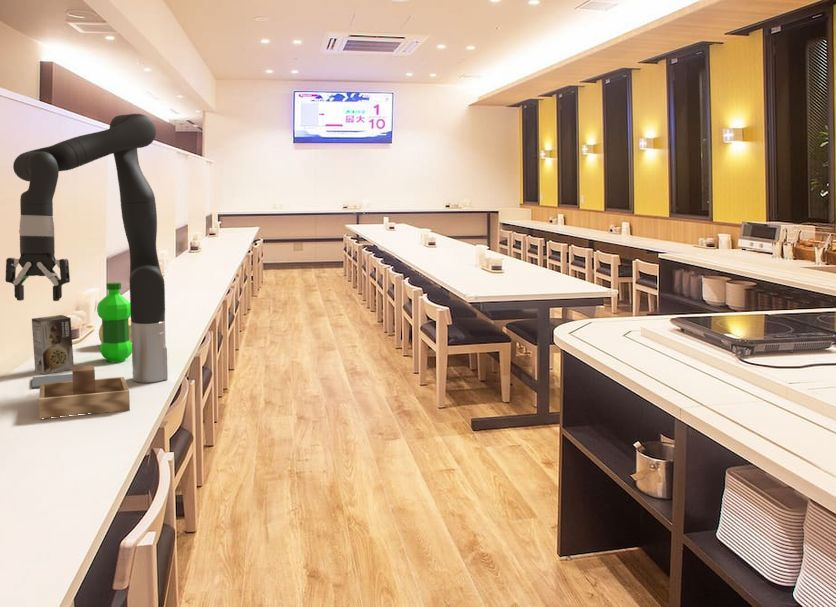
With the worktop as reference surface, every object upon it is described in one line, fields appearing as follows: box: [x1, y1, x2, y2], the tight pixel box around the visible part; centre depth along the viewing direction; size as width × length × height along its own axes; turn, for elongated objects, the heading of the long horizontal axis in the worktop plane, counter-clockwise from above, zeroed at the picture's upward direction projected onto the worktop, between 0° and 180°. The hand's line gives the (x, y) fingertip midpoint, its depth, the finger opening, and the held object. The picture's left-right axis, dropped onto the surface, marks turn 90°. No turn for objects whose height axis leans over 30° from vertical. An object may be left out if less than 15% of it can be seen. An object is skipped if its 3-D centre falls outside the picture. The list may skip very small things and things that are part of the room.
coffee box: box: [31, 314, 75, 375], centre depth 216 cm, size 9×6×16 cm
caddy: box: [38, 376, 131, 420], centre depth 182 cm, size 20×15×5 cm
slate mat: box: [31, 373, 73, 390], centre depth 204 cm, size 11×11×1 cm
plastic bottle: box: [96, 282, 132, 363], centre depth 229 cm, size 10×10×25 cm
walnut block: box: [71, 364, 96, 395], centre depth 182 cm, size 5×5×10 cm
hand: (38, 300), depth 177 cm, fingers open, 8 cm apart
